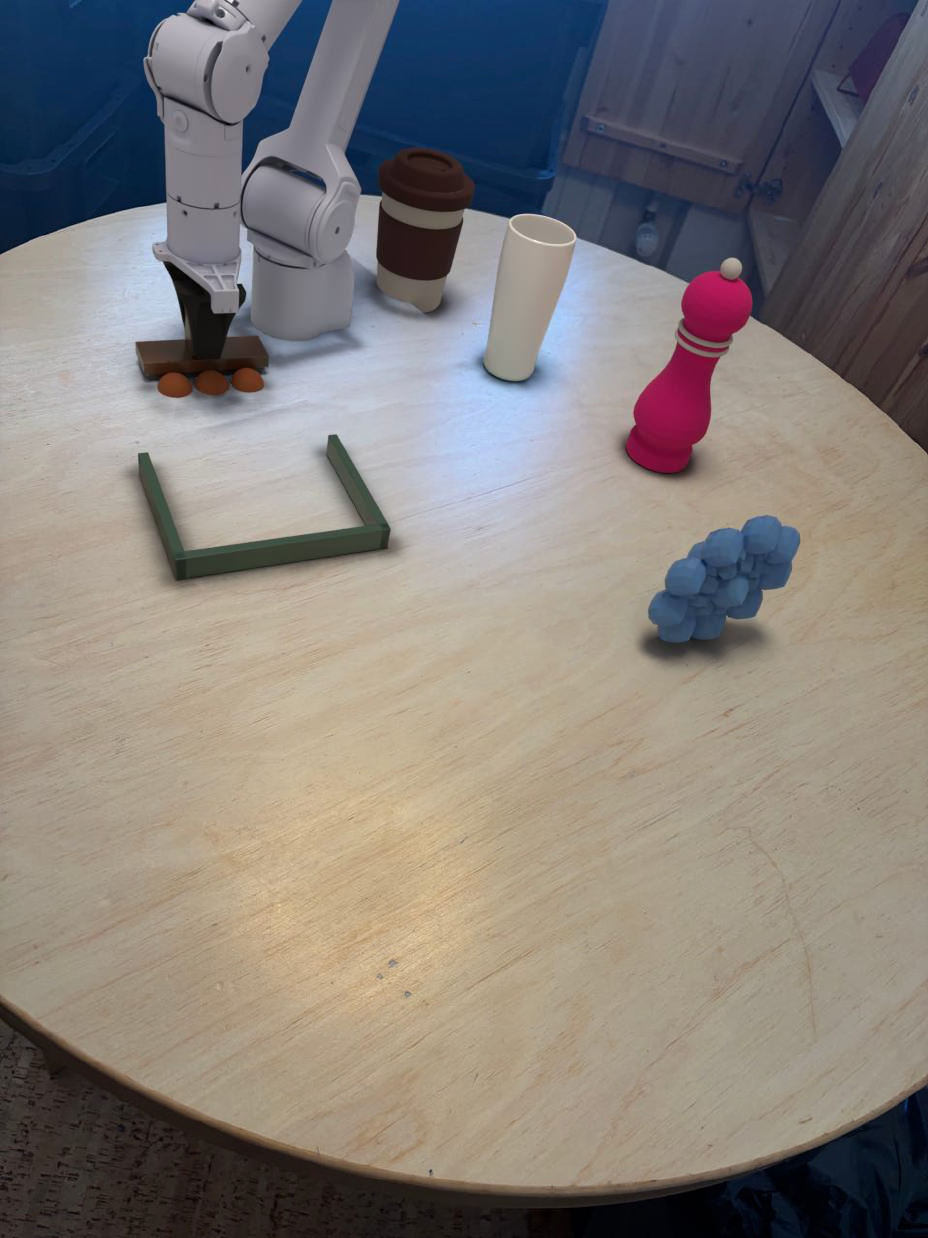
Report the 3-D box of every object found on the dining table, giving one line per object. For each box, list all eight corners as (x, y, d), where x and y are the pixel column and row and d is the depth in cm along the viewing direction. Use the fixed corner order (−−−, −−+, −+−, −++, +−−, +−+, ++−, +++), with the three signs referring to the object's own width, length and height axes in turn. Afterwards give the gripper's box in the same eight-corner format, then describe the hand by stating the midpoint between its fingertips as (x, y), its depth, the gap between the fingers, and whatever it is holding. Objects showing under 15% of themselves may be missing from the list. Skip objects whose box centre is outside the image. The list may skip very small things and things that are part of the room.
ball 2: (251, 375, 88) (255, 356, 85) (267, 402, 88) (272, 383, 85) (222, 386, 87) (225, 367, 84) (238, 412, 86) (242, 394, 84)
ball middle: (216, 378, 87) (220, 358, 84) (233, 404, 86) (237, 385, 84) (186, 388, 85) (189, 369, 83) (203, 415, 85) (206, 396, 82)
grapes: (725, 589, 80) (786, 476, 72) (770, 647, 76) (840, 533, 68) (608, 607, 76) (658, 488, 68) (649, 670, 72) (708, 551, 63)
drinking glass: (540, 360, 102) (578, 223, 92) (537, 393, 97) (577, 251, 87) (478, 346, 101) (510, 206, 91) (472, 378, 97) (505, 234, 86)
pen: (138, 473, 76) (137, 452, 75) (334, 452, 83) (336, 433, 82) (175, 580, 69) (175, 559, 67) (387, 547, 76) (391, 528, 74)
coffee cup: (350, 278, 107) (366, 138, 96) (430, 276, 111) (454, 142, 101) (382, 323, 101) (403, 180, 91) (465, 319, 105) (494, 182, 95)
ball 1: (181, 381, 85) (183, 361, 83) (197, 407, 85) (200, 388, 82) (150, 391, 84) (151, 371, 81) (166, 418, 84) (168, 399, 81)
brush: (136, 368, 85) (131, 276, 79) (256, 360, 90) (260, 273, 84) (145, 390, 83) (140, 298, 77) (267, 381, 88) (272, 293, 82)
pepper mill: (690, 485, 91) (778, 288, 77) (617, 464, 91) (692, 263, 77) (692, 444, 96) (775, 253, 82) (623, 425, 96) (694, 231, 82)
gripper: (132, 154, 78) (139, 307, 87) (173, 235, 69) (176, 395, 79) (218, 157, 81) (216, 305, 90) (267, 235, 72) (260, 389, 82)
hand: (203, 347), depth 85 cm, fingers closed on brush, 2 cm apart
